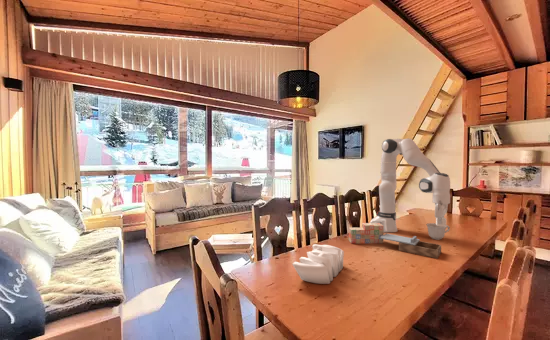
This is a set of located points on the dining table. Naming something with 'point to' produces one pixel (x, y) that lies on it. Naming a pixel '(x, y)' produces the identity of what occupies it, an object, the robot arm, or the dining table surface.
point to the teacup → (436, 231)
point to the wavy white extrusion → (320, 264)
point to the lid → (400, 239)
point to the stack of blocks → (367, 233)
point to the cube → (442, 222)
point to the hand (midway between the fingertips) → (440, 222)
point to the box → (422, 249)
